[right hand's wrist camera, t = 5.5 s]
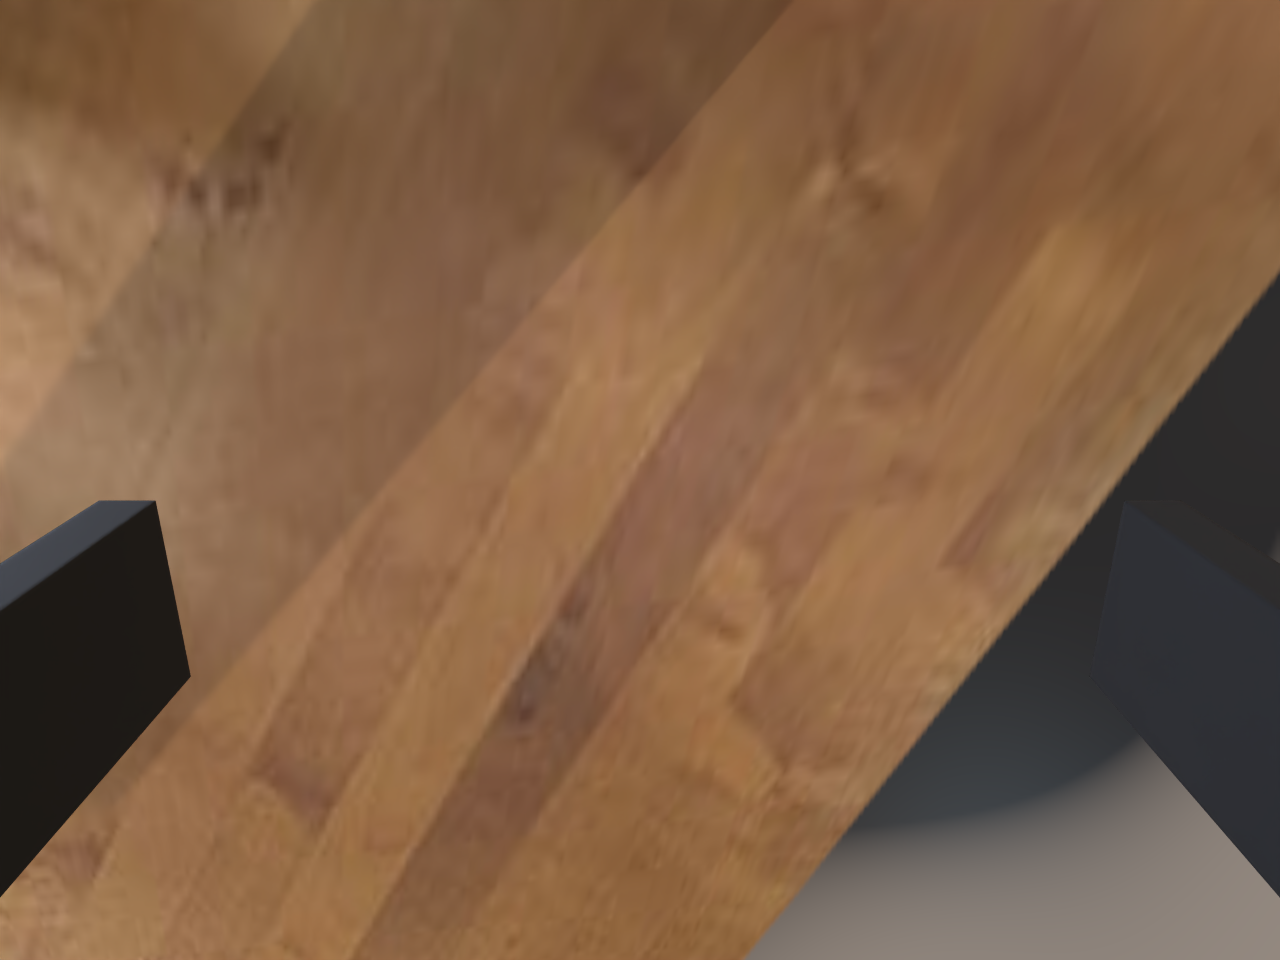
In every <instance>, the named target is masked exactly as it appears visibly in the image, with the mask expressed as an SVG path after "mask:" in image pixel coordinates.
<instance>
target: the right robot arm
mask: <svg viewBox="0 0 1280 960" xmlns="http://www.w3.org/2000/svg"><path fill="white" fill-rule="evenodd" d="M190 677H191V675H190V670H189V665H188V660H187V655H186V650H185V645H184V640H183V635H182V630H181V625H180V620H179V615H178V610H177V605H176V600H175V595H174V590H173V585H172V580H171V575H170V570H169V565H168V560H167V555H166V550H165V546H164V541H163V536H162V531H161V526H160V521H159V516H158V511H157V506H156V501H98V502H96V503H95V504H93V505H91V506H90V507H88V508H87V509H85V510H84V511H82V512H80V513H79V514H77V515H76V516H74V517H73V518H71V519H69V520H68V521H66V522H65V523H63V524H62V525H60V526H58V527H57V528H55V529H54V530H52V531H51V532H49V533H47V534H46V535H44V536H43V537H41V538H40V539H38V540H37V541H35V542H33V543H32V544H30V545H29V546H27V547H26V548H24V549H22V550H21V551H19V552H18V553H16V554H15V555H13V556H11V557H10V558H8V559H7V560H5V561H4V562H2V563H0V897H1V896H2V895H3V894H4V892H5V891H6V890H7V889H8V888H9V887H10V885H11V884H12V883H13V882H14V881H15V880H16V878H17V877H18V876H19V875H20V874H21V873H22V872H23V870H24V869H25V868H26V867H27V866H28V865H29V863H30V862H31V861H32V860H33V859H34V858H35V856H36V855H37V854H38V853H39V852H40V851H41V849H42V848H43V847H44V846H45V845H46V844H47V843H48V841H49V840H50V839H51V838H52V837H53V836H54V834H55V833H56V832H57V831H58V830H59V829H60V827H61V826H62V825H63V824H64V823H65V822H66V821H67V819H68V818H69V817H70V816H71V815H72V814H73V812H74V811H75V810H76V809H77V808H78V807H79V805H80V804H81V803H82V802H83V801H84V800H85V798H86V797H87V796H88V795H89V794H90V793H91V792H92V790H93V789H94V788H95V787H96V786H97V785H98V783H99V782H100V781H101V780H102V779H103V778H104V776H105V775H106V774H107V773H108V772H109V771H110V769H111V768H112V767H113V766H114V765H115V764H116V763H117V761H118V760H119V759H120V758H121V757H122V756H123V754H124V753H125V752H126V751H127V750H128V749H129V747H130V746H131V745H132V744H133V743H134V742H135V741H136V739H137V738H138V737H139V736H140V735H141V734H142V732H143V731H144V730H145V729H146V728H147V727H148V725H149V724H150V723H151V722H152V721H153V720H154V718H155V717H156V716H157V715H158V714H159V713H160V712H161V710H162V709H163V708H164V707H165V706H166V705H167V703H168V702H169V701H170V700H171V699H172V698H173V696H174V695H175V694H176V693H177V692H178V691H179V690H180V688H181V687H182V686H183V685H184V684H185V683H186V681H187V680H188V679H189V678H190ZM1089 677H1090V678H1091V679H1092V680H1093V681H1094V683H1095V684H1096V685H1097V686H1098V687H1099V688H1100V690H1101V691H1102V692H1103V693H1104V694H1105V695H1106V696H1107V698H1108V699H1109V700H1110V701H1111V702H1112V703H1113V705H1114V706H1115V707H1116V708H1117V709H1118V710H1119V712H1120V713H1121V714H1122V715H1123V716H1124V717H1125V718H1126V720H1127V721H1128V722H1129V723H1130V724H1131V725H1132V727H1133V728H1134V729H1135V730H1136V731H1137V732H1138V734H1139V735H1140V736H1141V737H1142V738H1143V739H1144V740H1145V742H1146V743H1147V744H1148V745H1149V746H1150V747H1151V749H1152V750H1153V751H1154V752H1155V753H1156V754H1157V756H1158V757H1159V758H1160V759H1161V760H1162V761H1163V763H1164V764H1165V765H1166V766H1167V767H1168V768H1169V769H1170V771H1171V772H1172V773H1173V774H1174V775H1175V776H1176V778H1177V779H1178V780H1179V781H1180V782H1181V783H1182V785H1183V786H1184V787H1185V788H1186V789H1187V790H1188V792H1189V793H1190V794H1191V795H1192V796H1193V797H1194V798H1195V800H1196V801H1197V802H1198V803H1199V804H1200V805H1201V807H1202V808H1203V809H1204V810H1205V811H1206V812H1207V813H1208V815H1209V816H1210V817H1211V818H1212V819H1213V820H1214V822H1215V823H1216V824H1217V825H1218V826H1219V827H1220V829H1221V830H1222V831H1223V832H1224V833H1225V834H1226V836H1227V837H1228V838H1229V839H1230V840H1231V841H1232V843H1233V844H1234V845H1235V846H1236V847H1237V848H1238V849H1239V851H1240V852H1241V853H1242V854H1243V855H1244V856H1245V858H1246V859H1247V860H1248V861H1249V862H1250V863H1251V865H1252V866H1253V867H1254V868H1255V869H1256V870H1257V872H1258V873H1259V874H1260V875H1261V876H1262V877H1263V878H1264V880H1265V881H1266V882H1267V883H1268V884H1269V885H1270V887H1271V888H1272V889H1273V890H1274V891H1275V892H1276V894H1277V895H1278V896H1279V897H1280V563H1278V562H1276V561H1275V560H1273V559H1272V558H1270V557H1269V556H1267V555H1265V554H1264V553H1262V552H1261V551H1259V550H1258V549H1256V548H1254V547H1253V546H1251V545H1250V544H1248V543H1247V542H1245V541H1243V540H1242V539H1240V538H1239V537H1237V536H1236V535H1234V534H1232V533H1231V532H1229V531H1228V530H1226V529H1225V528H1223V527H1222V526H1220V525H1218V524H1217V523H1215V522H1214V521H1212V520H1211V519H1209V518H1207V517H1206V516H1204V515H1203V514H1201V513H1200V512H1198V511H1196V510H1195V509H1193V508H1192V507H1190V506H1189V505H1187V504H1185V503H1184V502H1182V501H1124V506H1123V511H1122V516H1121V521H1120V526H1119V531H1118V536H1117V541H1116V546H1115V550H1114V556H1113V560H1112V565H1111V570H1110V575H1109V581H1108V585H1107V590H1106V595H1105V600H1104V606H1103V610H1102V616H1101V621H1100V626H1099V631H1098V635H1097V640H1096V645H1095V650H1094V656H1093V660H1092V665H1091V670H1090V675H1089Z"/></svg>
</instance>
